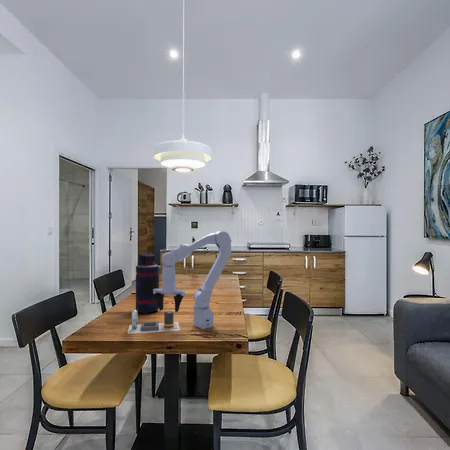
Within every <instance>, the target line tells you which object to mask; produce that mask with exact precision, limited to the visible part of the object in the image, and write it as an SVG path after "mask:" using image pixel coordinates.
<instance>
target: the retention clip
mask: <svg viewBox="0 0 450 450" xmlns="http://www.w3.org/2000/svg"><path fill="white" fill-rule="evenodd" d="M138 313H139V312H138V310H136V309H133V310H131V325H132V329H137V324H139V322H138V319H139V317H138Z"/></svg>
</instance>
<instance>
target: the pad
mask: <svg viewBox="0 0 450 450" xmlns="http://www.w3.org/2000/svg"><path fill="white" fill-rule="evenodd" d="M164 329H177V324H176V323H174V326H173V327H170V328H166V327H164V324H161V330H164Z"/></svg>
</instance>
